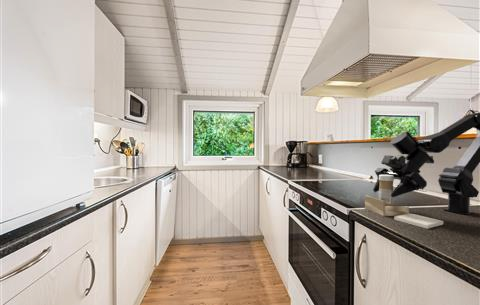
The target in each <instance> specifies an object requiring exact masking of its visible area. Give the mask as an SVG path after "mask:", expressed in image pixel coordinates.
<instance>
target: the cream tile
mask: <svg viewBox="0 0 480 305" xmlns="http://www.w3.org/2000/svg"><path fill="white" fill-rule="evenodd" d="M393 219H394V221H398V222H402V223H404V224H409V225H413V226H415V227H420V228H423V229H425V230H426V229H427V230H428V229H431V228H434V227H438V226H442V225H444V221H443V220H440V219H436V218H432V217H427V216H424V215H419V214H416V213H415V214H414V213H410V212H409V214H405V215H399V216H394V218H393Z"/></svg>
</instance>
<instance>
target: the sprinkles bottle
mask: <svg viewBox="0 0 480 305" xmlns="http://www.w3.org/2000/svg"><path fill="white" fill-rule="evenodd" d="M394 182H395V179H394V176H393V175H379V191H378V199H380V200H383V201H385V206H394V197H392V196H391V193H392V192H393V191H394Z"/></svg>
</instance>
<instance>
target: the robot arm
mask: <svg viewBox="0 0 480 305" xmlns="http://www.w3.org/2000/svg"><path fill="white" fill-rule="evenodd" d="M471 129H476V137H475V138H474V140H473V141H472V143H471V144H470V145H469V147H467V150H466V151H465V152H464V153H463V155H462V156H461V158H460V159H459V160H458V162H457V163H456V165H454V166H453V167H445V168H443V170H442V172H441V173H440V174H439V175H438V177H439V178H438V179H437V180H438V181H437V182H438V184H439V187H440V189H441V193H443V194H447V195H448V197H447V207H446V208H443V211H446V212H451V213H457V214H462V215H471V214H473V213H475V211H474V210H471V209H470V208H471V198H472V199H473V198H477V197H478V195H479V193H480V191H479V190H478V189H477V188H476V187H475V186H474V185H473V182H474V175H473V173H474V171H475V170H476V169H477V167H478V166H479V164H480V112H475V113H469V114H466V115H464V116H463V117H462V118H460V119H459V120H457V121H456V122H453V123H452V124H450V125H449V126H447V127H445V128H443V129H441V130H440V131H439V132H436V133H432V134H429V135H426V136H424V137H421V138H419V139H418V140H417V139H415V137H414V136H413V135H412V134H411V132H410V131H403V132H401V133H400V134H397V135H396V136H395V137H393V138H392V139H391V140H390V142H389V143H390V145H392V146H393V147H394V148H395V149H396V150H397V151H398V153H399V154H400V155H397V156H395V155H386V154H385V155H384V156H383V158H382V160H381V162H380V164H381V165H385V166H387V167H388V168H386V167H385V168H384V167H377V168H376V169H375V170H374V173H375V175H376V177H377V179H376V182H375V185H374V187H373V189H372V190H373V192H374V193H377V192H379V175H393V176H394V180H399V184H397V186H396V187H395V188H393V192H392V193H391V196H392V197H393V198H396V197H398V196H401V195H406V194H407V193H411V192H415V191H419V190H424V189H425V188H426V187H427V180H426V179H424V177H423V176H422V175H421V174H420V173H421V170H420V169H421V168H422V167H423V166H424V165H425V164H434V163H435V160H434V156H433V155H429V154H431V153H432V154H439V153H441V152H443V151H444V150H446V149H447V148H448V147H449V146H450V143H451V142H452V141H454V140H455V139H456V138H458V137H460V136H461V135H464V134H465V133H467V132H468V131H470V130H471ZM404 155H406V156H404ZM390 171H391V172H390Z"/></svg>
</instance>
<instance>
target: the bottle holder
mask: <svg viewBox="0 0 480 305" xmlns="http://www.w3.org/2000/svg"><path fill="white" fill-rule="evenodd" d="M364 209H366V210H368V211H370V212H373V213H375V214H378V215H380V216H382V217H388V216H389V217H390V216H391V217H393V216H394V217H395V216H400V215H405V214H410V206H408V205H395V206H394V205H393V206H385V201H383V200H380V199H379V198H377V197H374V196H370V195H366V194H365V195H364Z"/></svg>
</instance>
